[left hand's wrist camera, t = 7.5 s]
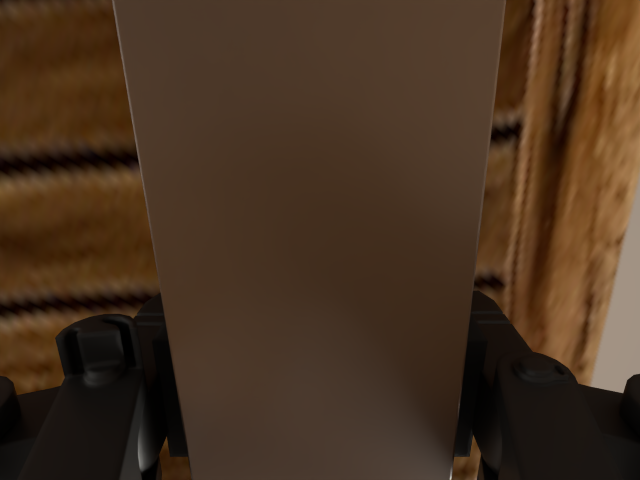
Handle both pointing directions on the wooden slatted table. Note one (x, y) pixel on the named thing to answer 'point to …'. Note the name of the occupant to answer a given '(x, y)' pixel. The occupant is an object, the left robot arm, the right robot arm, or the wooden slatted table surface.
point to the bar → (314, 223)
